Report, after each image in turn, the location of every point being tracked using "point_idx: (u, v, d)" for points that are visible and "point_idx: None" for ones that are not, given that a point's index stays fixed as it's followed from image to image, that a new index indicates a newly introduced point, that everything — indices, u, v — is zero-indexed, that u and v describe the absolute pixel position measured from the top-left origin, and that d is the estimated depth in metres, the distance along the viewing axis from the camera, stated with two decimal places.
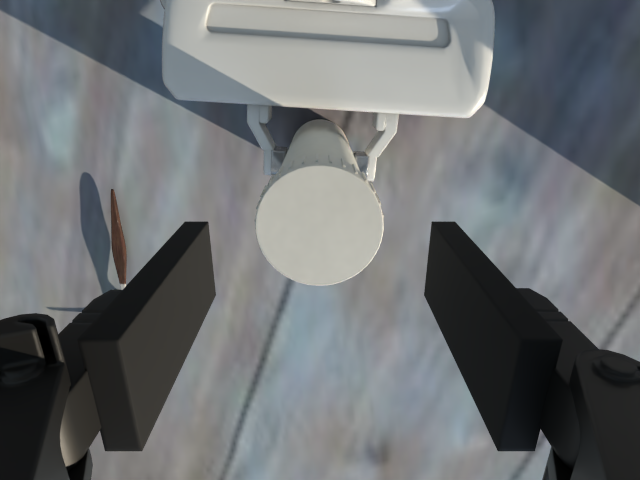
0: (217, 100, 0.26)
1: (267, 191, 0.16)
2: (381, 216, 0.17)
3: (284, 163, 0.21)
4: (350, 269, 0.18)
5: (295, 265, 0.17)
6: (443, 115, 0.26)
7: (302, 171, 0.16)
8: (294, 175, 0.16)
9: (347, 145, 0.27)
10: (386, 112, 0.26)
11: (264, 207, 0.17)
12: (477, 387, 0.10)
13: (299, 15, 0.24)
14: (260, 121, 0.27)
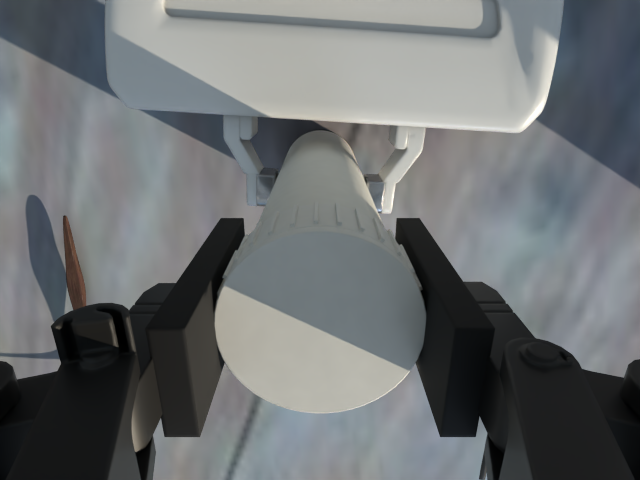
0: (182, 109, 0.19)
1: (232, 273, 0.10)
2: (424, 312, 0.10)
3: (269, 204, 0.15)
4: (370, 390, 0.11)
5: (281, 384, 0.11)
6: (486, 129, 0.20)
7: (291, 241, 0.09)
8: (277, 248, 0.09)
9: (357, 169, 0.20)
10: (409, 125, 0.20)
11: (227, 298, 0.10)
12: (426, 377, 0.10)
13: None
14: (241, 137, 0.20)
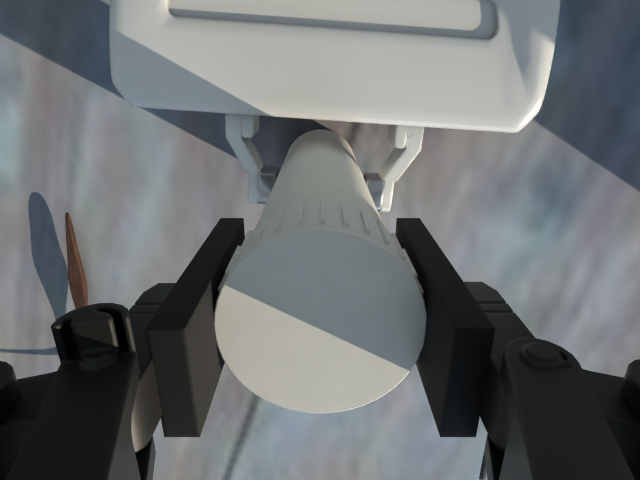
0: (185, 108, 0.20)
1: (283, 405, 0.11)
2: (269, 244, 0.09)
3: (270, 201, 0.15)
4: (382, 266, 0.10)
5: (394, 350, 0.10)
6: (483, 129, 0.20)
7: (237, 371, 0.11)
8: (247, 379, 0.11)
9: (356, 167, 0.20)
10: (408, 125, 0.20)
11: (307, 406, 0.11)
12: (427, 377, 0.10)
13: None
14: (243, 135, 0.21)
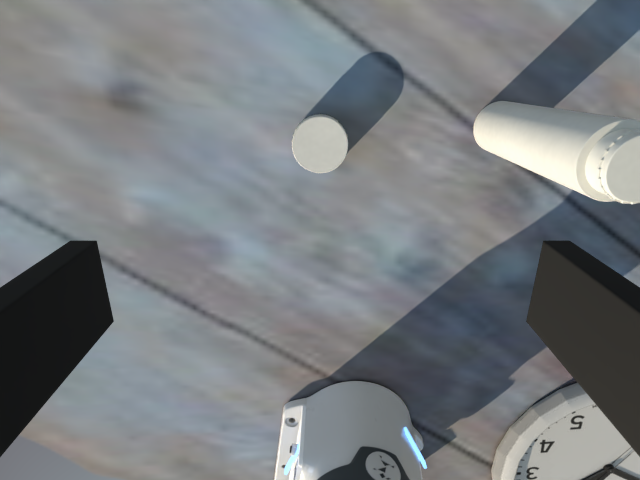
0: None
1: (309, 170, 0.40)
2: (307, 120, 0.38)
3: None
4: (335, 126, 0.38)
5: (339, 151, 0.39)
6: None
7: (297, 158, 0.39)
8: (300, 161, 0.39)
9: None
10: None
11: (316, 170, 0.40)
12: None
13: None
14: None
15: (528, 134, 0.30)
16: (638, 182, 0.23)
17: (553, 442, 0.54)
